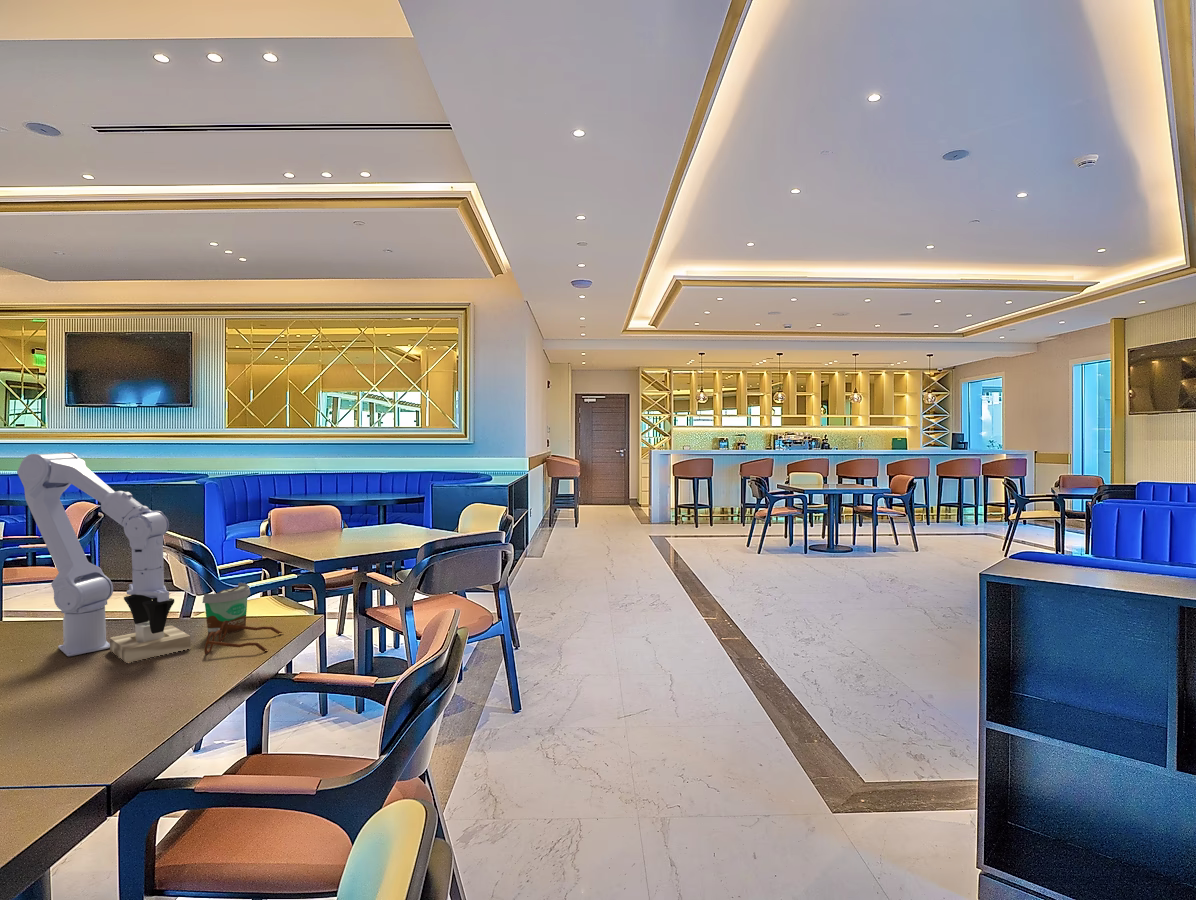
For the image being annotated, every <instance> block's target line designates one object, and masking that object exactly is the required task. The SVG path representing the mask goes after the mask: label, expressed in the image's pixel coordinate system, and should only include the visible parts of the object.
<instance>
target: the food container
mask: <svg viewBox="0 0 1196 900" xmlns="http://www.w3.org/2000/svg"><path fill="white" fill-rule="evenodd" d="M237 585H238V586H236V587H234V588H229V589H228V588H227V589H222V590H220V591H218V592H217V593H203V597H202V604H204V607H205V608H204V610H205V617H206V626H207V627H206V628H207V634H208V635H207V636H209V634H210V633H211V632H217V631H218V630H220V628H221V625H222V623H223V622H224V621H228V624H232V625H240V626H247V625H246V624H247V612H248V611H247V609H248V597H249V596H251V593H252V592H251V590H250V587H249V585H248V584H247V583H244V582H238V584H237ZM225 626H226V624H225V625H224V627H223V629H222V633H221V635H224V632H225ZM242 630H243V629H239V628H231V627H228V629H227V633H228V634H232V633H236V632H239V631H242ZM227 633H226V635H228V634H227ZM217 636H219V634H218V635H217Z"/></svg>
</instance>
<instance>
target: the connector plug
mask: <svg viewBox="0 0 1196 900" xmlns="http://www.w3.org/2000/svg"><path fill="white" fill-rule="evenodd" d="M134 631H135V632H134V633H135V635H136V642H138V643H141V642H145V641H150V640H155V639H160V638H164V631H163V632H159V633H154V634H153V633H152V632H151V629H150V624H149V621H148V622H144V623H139V624H135V623H134Z"/></svg>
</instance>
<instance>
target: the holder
mask: <svg viewBox="0 0 1196 900" xmlns="http://www.w3.org/2000/svg"><path fill="white" fill-rule="evenodd" d="M191 642H192V641H191V635H190V634H188V633H187V632H184V631H183V630H181V629H179V628H178V627H175V626H174V625H167V626H166V625H165V628H164V638H160V639H155V640H150V641H145V642H141V643H138V642H136V635H135V632H132V633H127V634H123V635H122V634H121V635H116V636H111V637H109V643H110V648H109V652H110V651H111V652H110V653H112V652H113V653H114V654H115V655H117V656H118V657H119V658H121V659H122V660H123V661H124V663H125V662H126V663H128V662H132V663H134V662H133V661H136V660H141V659H145V658H150V657H154V656H159V657H161V656H160V655H163V656H165V655H164V654H167V655H170V654H169V653H172V654H174V653H173V652H176V653H179V652H178V651H181V652H184V651H183V650H185V651H188V650H187V649H189V650H191V649H192V647H191V646H192V643H191ZM113 653H112V654H113ZM114 654H113V655H114ZM115 655H114V656H115ZM117 656H116V657H117ZM118 657H117V658H118ZM119 658H118V659H119ZM154 658H155V657H154ZM121 659H120V660H121ZM150 659H151V658H150ZM122 660H121V661H122ZM123 661H122V662H123ZM141 661H142V660H141ZM126 663H125V664H126ZM128 664H129V663H128Z"/></svg>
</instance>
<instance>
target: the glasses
mask: <svg viewBox="0 0 1196 900" xmlns="http://www.w3.org/2000/svg"><path fill="white" fill-rule="evenodd" d="M225 624H226V626H225V632H224V634H221V633H222V629H223V627H224V625H225ZM228 627H231V628H239V629H242V630H248V631H249V630H250V631H261V630H262V631H263V630H270V631H272V632H274V633H276V634H278V635H279V633H283V632H282V631H280V630H279V629H276V628H275V627H273V626H260V627H259V626H257V627H254V626H247V625H246V626H240V625H232V624H228V621H224V622H223V623H222V625H221V628H220V630H218V631H217V632H211V633H210V634H209V635H207V637H206V641H205V643H204V644H205V645H204V654H205V655H209V654H210V653H211V652H212V649H213V647H214V646H223V647H231V648H242V647H247V646H248V647H249V646H251V647H253V646H255V647H257V648H258V649H259V650H260V651H262V652H264V651H265V650H268V649H267V648H266V647H264V646H263V645H261V644H260V643H258V642H245V643H232V642H224V639H225V638H226V636H227V634H226V633H227V629H228ZM218 634H219V635H218ZM217 636H218V638H217V640H218V641H215V640H216V637H217ZM211 637H212V638H211ZM221 641H222V642H221ZM209 645H210V646H209ZM208 647H209V648H208ZM210 651H211V652H210ZM209 652H210V653H209ZM208 653H209V654H208Z"/></svg>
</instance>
